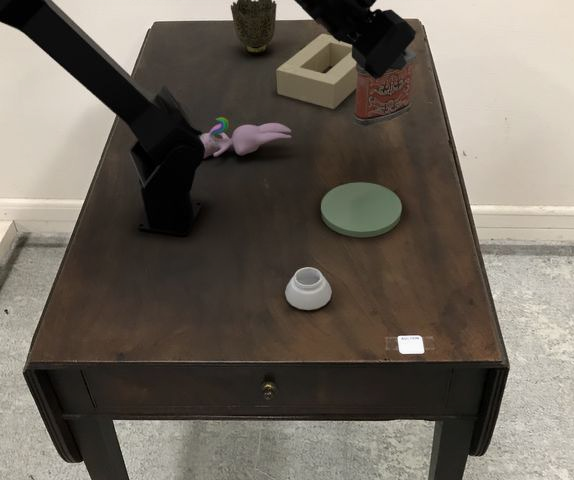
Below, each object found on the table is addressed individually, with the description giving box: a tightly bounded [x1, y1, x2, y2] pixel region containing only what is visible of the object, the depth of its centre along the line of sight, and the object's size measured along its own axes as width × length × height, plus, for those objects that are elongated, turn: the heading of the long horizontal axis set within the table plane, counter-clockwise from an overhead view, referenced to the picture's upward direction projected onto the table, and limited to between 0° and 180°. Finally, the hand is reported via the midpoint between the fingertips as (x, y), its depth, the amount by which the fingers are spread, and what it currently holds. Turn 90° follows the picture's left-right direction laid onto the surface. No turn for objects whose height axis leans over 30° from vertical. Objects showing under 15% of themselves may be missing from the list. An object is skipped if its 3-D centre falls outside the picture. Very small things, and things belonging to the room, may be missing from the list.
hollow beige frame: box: [275, 33, 357, 110], centre depth 109 cm, size 14×11×4 cm
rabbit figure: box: [199, 116, 292, 159], centre depth 95 cm, size 6×6×15 cm
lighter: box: [352, 47, 417, 127], centre depth 85 cm, size 8×3×10 cm, turn 120°
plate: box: [320, 181, 403, 238], centre depth 87 cm, size 10×10×1 cm
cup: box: [230, 0, 278, 56], centre depth 116 cm, size 8×7×8 cm
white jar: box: [284, 266, 333, 311], centre depth 76 cm, size 5×3×5 cm
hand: (396, 59), depth 84 cm, fingers closed on lighter, 3 cm apart
